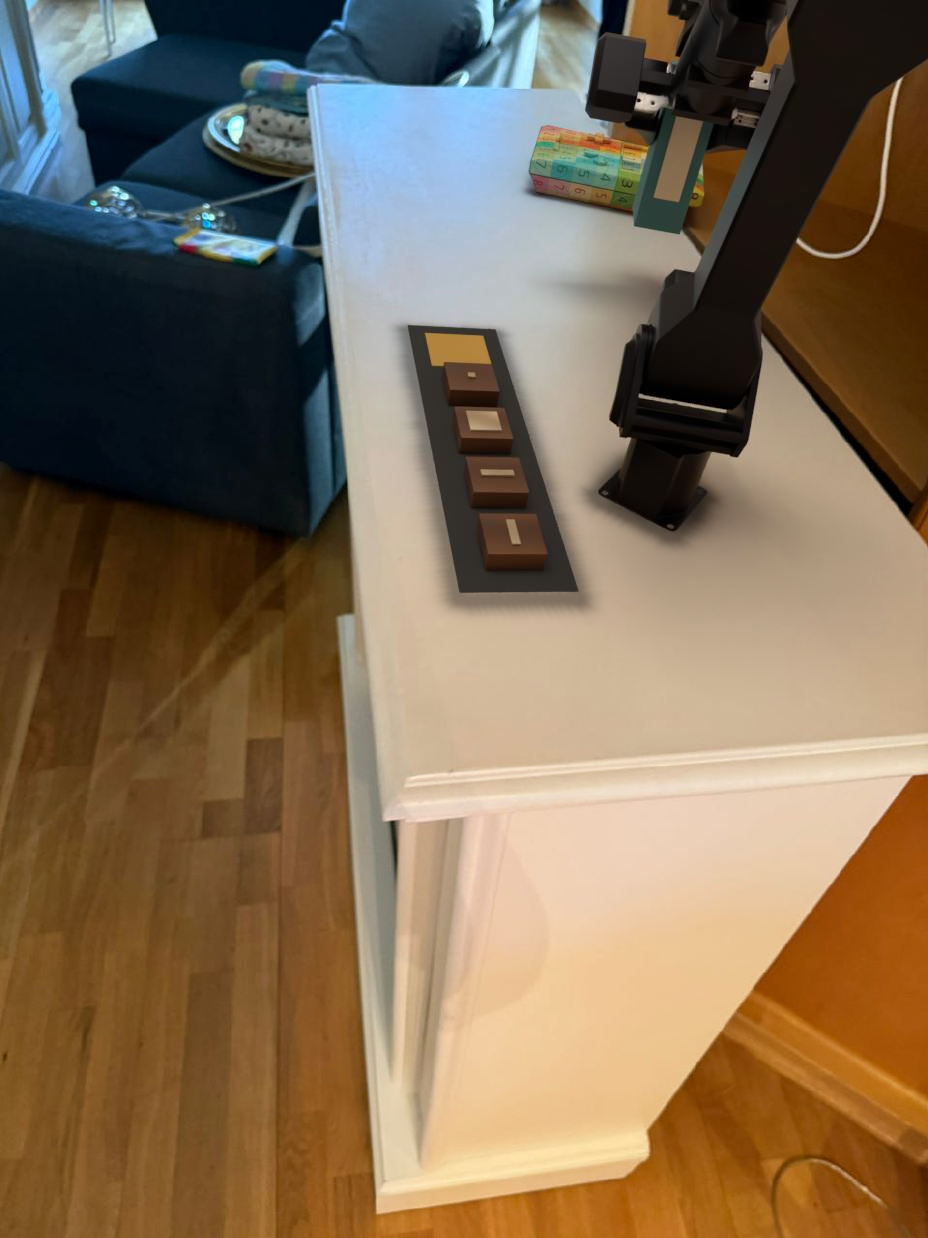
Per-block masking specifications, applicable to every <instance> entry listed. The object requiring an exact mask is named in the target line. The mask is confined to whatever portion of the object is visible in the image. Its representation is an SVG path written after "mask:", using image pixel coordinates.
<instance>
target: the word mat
mask: <svg viewBox="0 0 928 1238" xmlns="http://www.w3.org/2000/svg"><path fill="white" fill-rule="evenodd" d="M407 331H408V335H409V340H410V341H409V342H410V345H411V350H412V355H413V361H414V367H415V371H416V376H417V377H416V378H417V382H418V386H419V392H420V397H421V403H422V406H423V407H422V408H423V412H424V413H423V414H424V417H425V423H426V428H427V432H428V437H429V444H430V448H431V453H432V454H431V455H432V459H433V464H434V468H435V473H436V479H437V485H438V489H439V494H440V499H441V505H442V511H443V515H444V520H445V521H444V522H445V525H446V531H447V536H448V540H449V545H450V550H451V556H452V561H453V566H454V571H455V577H456V581H457V586H458V592H459V593H460V594H472V593H473V594H476V593H478V594H479V593H480V594H481V593H485V594H487V593H490V594H491V593H578V592H579V588H578V585H577V581H576V579H575V575H574V572H573V569H572V565H571V562H570V560H569V557H568V553H567V550H566V546H565V543H564V541H563V537H562V535H561V531H560V528H559V525H558V522H557V519H556V515H555V512H554V509H553V506H552V503H551V499H550V496H549V493H548V490H547V488H546V487H547V486H546V485H545V484H546V483H545V481H544V478H543V475H542V472H541V468H540V465H539V462H538V458H537V455H536V453H535V450H534V447H533V443H532V440H531V436H530V434H529V430H528V428H527V424H526V421H525V418H524V415H523V412H522V409H521V405H520V402H519V399H518V396H517V392H516V390H515V387H514V383H513V380H512V377H511V374H510V371H509V367H508V364H507V362H506V359H505V355H504V352H503V348H502V346H501V342H500V339H499V336H498V333H497V329H495V328H477V327H474V328H473V327H458V326H457V327H456V326H437V325H436V326H435V325H419V324H418V325H416V324H407ZM444 362H460V363H484V364H492V367H493V371H494V374H495V377H496V381H497V384H498V387H499V391H500V392H499V398H498V403H497V407H487V408H504V409H505V412H506V415H507V419H508V422H509V425H510V429H511V432H512V435H513V444H512V448H511V453H510V454H469V453H459V451H458V447H457V442H456V438H455V433H454V429H453V425H452V418H453V411H454V407H455V406H453V405H448V403H447V398H446V394H445V390H444V385H443V381H442V372H443V364H444ZM456 407H484V406H456ZM466 457H509V458H519V459H520V463H521V466H522V469H523V473H524V476H525V480H526V483H527V486H528V490H529V496H528V500H527V504H526V508H472V507H471V504H470V500H469V496H468V491H467V487H466V482H465V478H464V474H463V471H464V465H465V459H466ZM480 513H486V514H536V516H537V519H538V523H539V526H540V529H541V533H542V536H543V540H544V543H545V546H546V550H547V553H548V555H547V558H546V562H545V565H544V569H543V570H485V567H484V562H483V558H482V554H481V549H480V545H479V540H478V536H477V531H476V527H477V522H478V517H479V514H480Z"/></svg>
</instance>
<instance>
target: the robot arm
mask: <svg viewBox="0 0 928 1238" xmlns="http://www.w3.org/2000/svg"><path fill="white" fill-rule="evenodd" d="M667 1H668V2H667V7H666V8H667V9H666V14H667V16H671V17H675V18H678V19H677V20H679V21H680V20H681V21H684V24H683V27H682V29H681V32H680V34H679V36H678V39H677V41H676V47H675V54H674V57H677V58H678V60H677V61H678V63H677V65H676V64H671V63H669V62H668V61H663V60H658V59H655V58H653V59H652V58H648V57H645V54H646V48H647V39H645V38H641V37H635V36H629V35H625V34H624V35H623V34H618V33H614V32H613V33H612V32H609V31H608V32H607V31H606V32H605V33H603V34H602V35H601V36H600V37H599V38H598V39H597V42H596V45H595V50H594V54H593V59H592V66H591V71H590V78H589V83H588V89H587V95H586V96H587V97H586V100H585V101H586V102H585V106H584V111H585V114H587V116H588V117H589V119H593V120H598V121H604V122H609V123H615V124H623V125H624V127H625V128H626V129H630V130H633V131H635V132H636V133H637V134H638V135H639V136H641V138H642V140H644V142H645V144H646V146H649V145H652V144H653V143H654V140H655V135H656V131H657V125H658V119H659V113H660V108H661V107H663V108H669V109H672V111H671V115H672V116H677V117H682V118H688V119H693V120H699V121H704V122H709V123H714V126H713V129H712V132H711V135H710V139H709V142H708V145H707V148H706V152H705V155H710V154H711V155H712V154H716V153H717V154H718V153H724V152H734V151H735V152H736V151H745V153H744V155H743V157H742V160H741V162H740V165H739V167H738V170H737V173H736V175H735V177H734V179H733V182H732V184H731V187H730V188H729V191H728V193H727V195H726V199H725V201H724V202H723V205H722V208H721V210H720V212H719V215H718V218H717V220H716V221H715V224H714V227H713V229H712V231H711V234H710V236H709V238H708V241H707V243H706V245H705V248H704V251H703V253H702V255H701V258H700V260H699V262H698V265H697V267H696V268H695V270H694V271H688V270H683V269H677V268H674V269H673V270H672V271H671V272H669V274H667V275H666V277H665V278H664V281H663V283H662V286H661V289H660V292H659V295H658V297H657V299H656V302H655V303H654V306H653V307H652V310H651V313H650V314H649V317H648V319H647V322H646V323H639V324H638V326H637V328H636V331H635V332H634V334H633V335H632V336H631V338H630V340H629V341H627V342H626V343H625V344H624V346H623V351H622V358H621V363H620V367H619V373H618V378H617V383H616V388H615V393H614V397H613V401H612V404H611V408H610V411H609V414H608V420H609V421H610V423H612V424H614V425H615V426H616V427H618V437H619V438H622V439H628V438H630V440H629V443H628V446H627V449H626V452H625V455H624V458H623V461H622V464H621V467H620V468H619V469H618V470H617V471H616V472H615V473H614V474H613V475H612V476H611V477H610V478H608V480H607V481H606V482H605V483H604V484H603V485H601V487H600V488H599V489H598V490H597V493H598V495H599V496H601V497H603V498H604V499H606V500H609V501H610V502H612V503H614V504H616V505H618V506H619V507H621V508H623V509H626V510H628V511H629V512H632V513H633V514H634V515H635V514H636V515H637V516H639V517H641V518H643V519H645V520H647V521H649V522H650V523H653V524H655V525H656V526H659V527H660V528H663V529H664V530H666V531H668V532H676V531H678V529H679V528H680V527H681V526H682V524H683V523H684V522H685V521H686V520H687V519H688V517H689V516H690V515H691V514H692V512H694V511H695V509H696V508H697V507H698V506H699V504H700V503H702V501H703V500H704V499H705V497H706V496H707V495H708V490H707V489H706V488H704V487H702V486H701V485H699V483H700V482H701V479H702V476H703V474H704V471H705V469H706V467H707V464H708V462H709V459H710V457H711V454H712V453H716V454H721V455H727V456H729V457H730V458H736V459H738V458H739V457H740V455H741V453H742V452H743V451H744V449H745V448H746V446H747V444H748V443H749V439H750V435H751V430H752V422H753V418H754V412H755V406H756V400H757V394H758V389H759V384H760V383H759V382H760V376H761V371H762V365H763V359H764V358H763V357H764V356H763V355H764V352H763V350H764V349H763V347H762V346H763V345H762V308H763V305H764V303H765V301H766V299H767V298H768V295H769V294H770V292H771V290H772V288H773V286H774V285H775V283H776V280H777V278H778V277H779V275H780V273H781V271H782V269H783V267H784V265H785V264H786V262H787V260H788V258H789V256H790V254H791V252H792V250H793V248H794V246H795V245H796V243H797V241H798V239H799V237H800V235H801V233H802V231H803V230H804V228H805V226H806V224H807V222H808V220H809V218H810V216H811V215H812V213H813V211H814V209H815V207H816V205H817V203H818V201H819V199H820V198H821V196H822V194H823V192H824V190H825V188H826V186H827V184H828V183H829V181H830V179H831V177H832V176H833V173H834V171H835V169H836V167H837V166H838V164H839V161H840V160H841V158H842V156H843V154H844V152H845V151H846V149H847V146H848V145H849V143H850V141H851V140H852V137H853V136H854V134H855V131H856V130H857V128H858V126H859V124H860V122H861V120H862V118H863V116H864V115H865V113H866V111H867V109H868V107H869V105H870V104H871V102H872V101H873V99H874V98H875V97H876V96H878V95H879V94H880V93H882V92H883V91H885V90H887V88H889V87H891V86H892V85H894V84H895V83H897V82H898V81H899V80H901V79H903V78H904V77H905V76H906V75H908V74H910V73H912V72H913V71H914V70H915V69H917V68H919V67H920V66H921V65H923V64H925V63H926V62H927V61H928V0H667ZM785 18H786V32H787V40H788V47H789V48H788V52H787V53H786V56H785V58H784V61H783V63H782V64H779V63H774V64H773V65H772V67H771V69H770V71H769V72H763V71H758V70H756V69H757V67H758V68H763V67H764V65H765V64H766V60H767V58H768V54H769V50H770V45H771V43H772V41H773V39H774V38H775V36H776V35H777V33H778V31H779V30H780V27H781V26H782V24H783V22H784V20H785ZM640 395H642V396H645V397H651V398H655V399H650V398H643V397H640ZM656 398H657V399H662V400H667V402H666V401H662V400H656ZM668 401H673V402H668ZM677 402H678V403H677ZM679 403H684V404H685V403H686V404H690V405H697V406H702V407H707V408H713V409H719V410H724V411H725V412H723V411H717V410H711V409H707V408H699V407H695V406H690V405H683V404H679ZM700 490H701V491H703V492H700ZM603 492H606V494H605V493H603ZM668 525H670V526H673V528H671V527H669V526H668Z"/></svg>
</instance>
